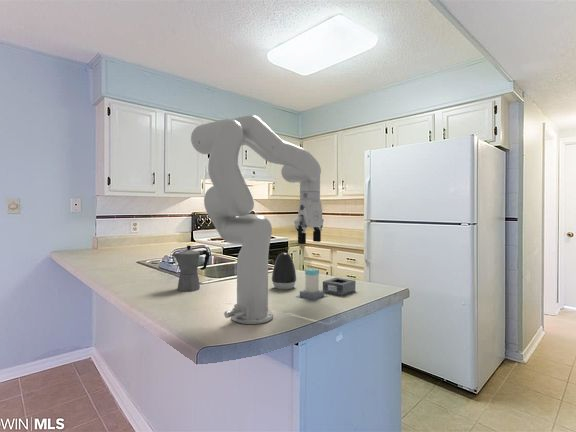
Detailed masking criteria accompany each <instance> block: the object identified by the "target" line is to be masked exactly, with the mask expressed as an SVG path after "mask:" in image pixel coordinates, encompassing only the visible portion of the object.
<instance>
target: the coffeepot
mask: <svg viewBox="0 0 576 432" xmlns="http://www.w3.org/2000/svg"><path fill="white" fill-rule="evenodd" d="M191 247H192V245H189V244H188V245H186V250H181V251H178V252H176V253H173V254H172V257H174V259H175V260H176V262H177V264H178V268H179V270H180V271H179V275H178V282H177V288H176V289H177V291H179V292H184V293H185V292H188V293H190V292H195V291H199V290H200V288H201V284H200V279H199V273H198V268H199V262H200V256H205V257H204V261H203V265H202V267H200V270H201V271H203V270H206V268H207V266H208V262H209V259H210V257H211V254H210V253H209V252H208V250H206V249H203V250H193V249H191Z"/></svg>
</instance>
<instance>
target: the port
mask: <svg viewBox="0 0 576 432" xmlns="http://www.w3.org/2000/svg"><path fill="white" fill-rule="evenodd" d="M322 291H324V294H330V295H335V296H338V297H339V296H340V297H345V296H347V295H349V294H352V293H354V292H356V280H353V279H347V278H342V277H332V278H330V279H326V280H324V281H322Z"/></svg>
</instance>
